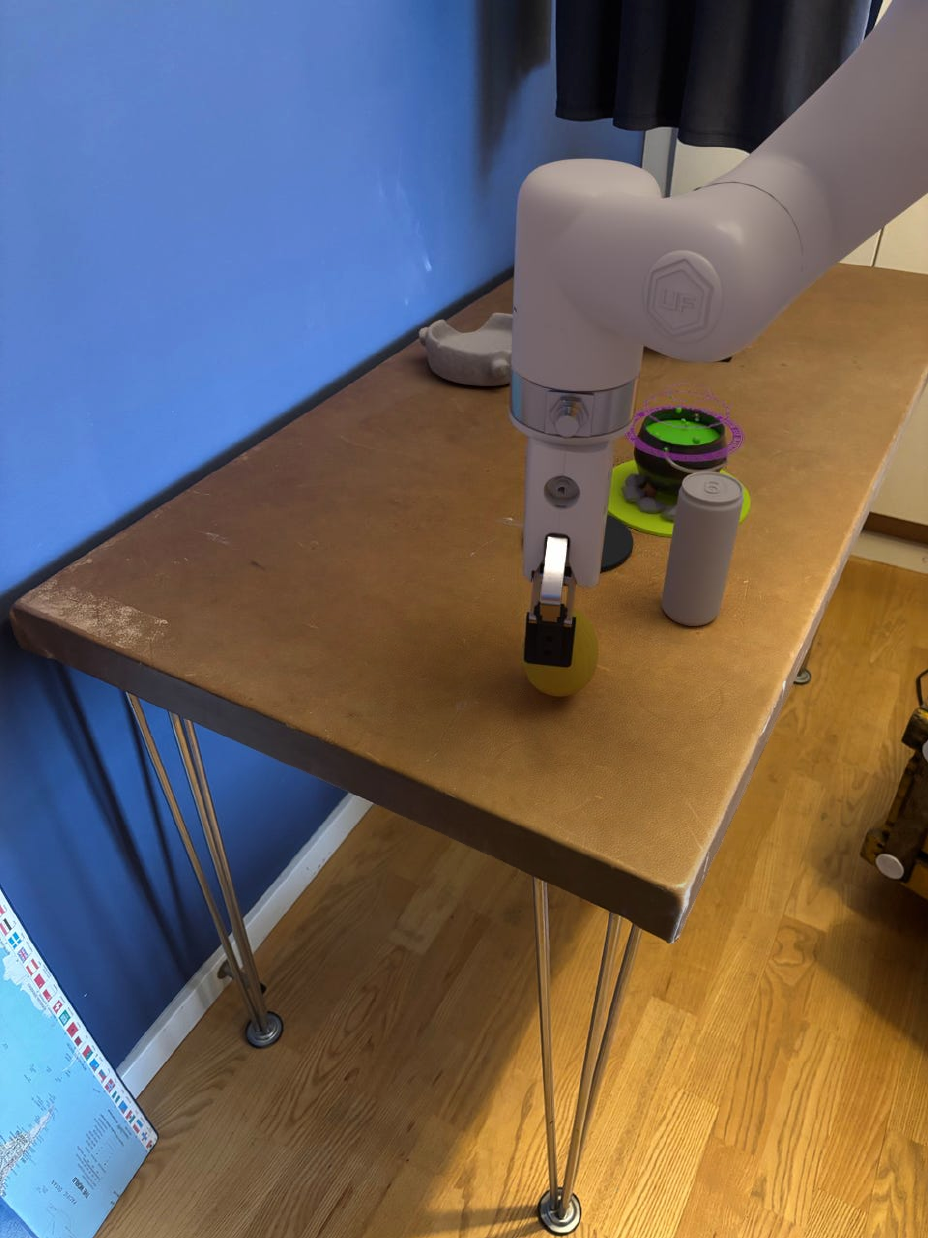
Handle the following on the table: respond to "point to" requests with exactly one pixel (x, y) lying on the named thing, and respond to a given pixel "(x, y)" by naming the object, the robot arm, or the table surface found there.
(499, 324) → the dish
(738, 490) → the beverage can
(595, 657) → the lemon
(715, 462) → the toy cauldron
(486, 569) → the table surface
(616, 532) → the disc
